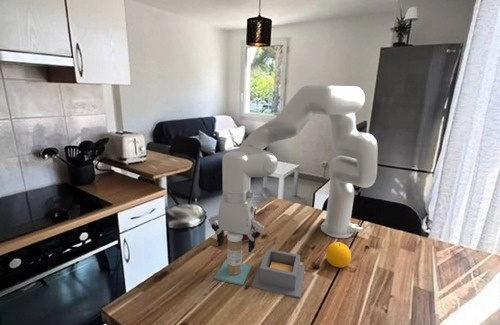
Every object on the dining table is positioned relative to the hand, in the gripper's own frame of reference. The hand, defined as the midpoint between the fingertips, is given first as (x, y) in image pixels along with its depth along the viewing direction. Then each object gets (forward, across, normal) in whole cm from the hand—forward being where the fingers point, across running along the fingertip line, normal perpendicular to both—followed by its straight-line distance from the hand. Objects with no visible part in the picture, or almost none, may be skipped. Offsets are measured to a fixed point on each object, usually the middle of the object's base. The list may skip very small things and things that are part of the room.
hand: (235, 247), depth 81 cm
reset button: (+8, -14, -2) cm, 16 cm away
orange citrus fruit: (+10, -30, -15) cm, 36 cm away
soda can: (+9, +4, -20) cm, 23 cm away
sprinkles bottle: (+8, 0, 0) cm, 8 cm away
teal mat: (+9, 0, +1) cm, 9 cm away
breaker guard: (+9, -14, -2) cm, 16 cm away
